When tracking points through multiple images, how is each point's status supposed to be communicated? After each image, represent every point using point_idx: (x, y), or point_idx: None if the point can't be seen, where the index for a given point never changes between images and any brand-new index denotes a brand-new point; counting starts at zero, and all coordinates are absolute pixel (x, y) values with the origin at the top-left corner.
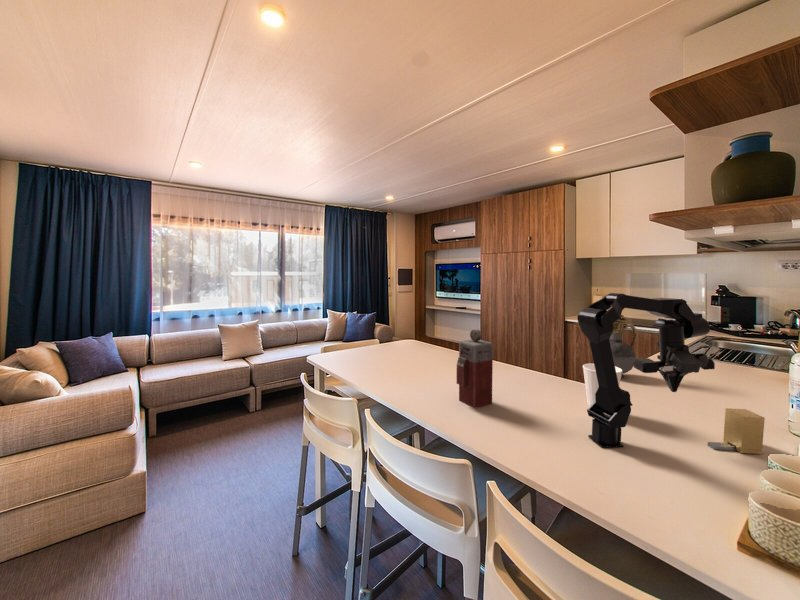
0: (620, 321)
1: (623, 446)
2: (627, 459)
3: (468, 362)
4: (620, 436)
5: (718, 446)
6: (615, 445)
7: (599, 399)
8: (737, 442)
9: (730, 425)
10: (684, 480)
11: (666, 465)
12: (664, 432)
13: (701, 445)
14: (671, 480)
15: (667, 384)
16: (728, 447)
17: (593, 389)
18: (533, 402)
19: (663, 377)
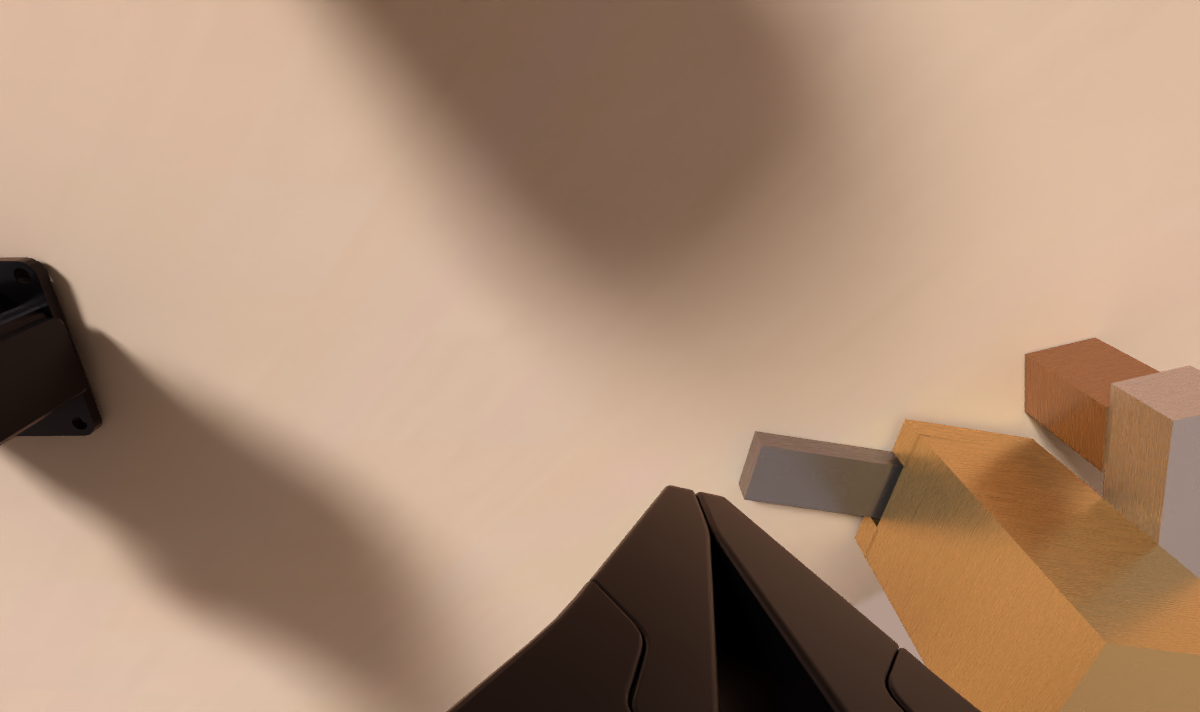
0: None
1: (98, 427)
2: (70, 546)
3: None
4: (47, 412)
5: (769, 501)
6: (27, 431)
7: None
8: (888, 555)
9: (971, 575)
10: (283, 702)
11: (278, 605)
12: (610, 215)
13: (711, 428)
14: (218, 700)
15: (631, 534)
16: (830, 508)
17: None
18: None
19: (557, 623)
